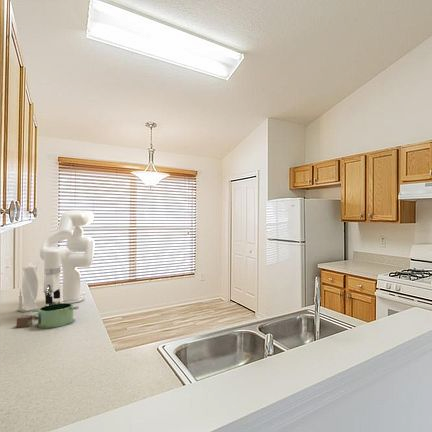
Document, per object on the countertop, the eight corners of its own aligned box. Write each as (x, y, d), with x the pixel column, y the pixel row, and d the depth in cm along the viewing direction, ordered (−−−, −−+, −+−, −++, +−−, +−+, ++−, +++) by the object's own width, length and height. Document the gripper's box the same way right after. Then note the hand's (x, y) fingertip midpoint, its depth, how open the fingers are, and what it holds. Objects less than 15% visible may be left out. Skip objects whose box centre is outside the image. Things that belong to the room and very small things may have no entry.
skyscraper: (34, 306, 195) (34, 261, 195) (41, 308, 191) (41, 262, 191) (17, 310, 187) (18, 263, 187) (24, 312, 183) (24, 264, 183)
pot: (40, 320, 170) (40, 304, 170) (82, 317, 175) (82, 301, 175) (25, 329, 156) (25, 312, 156) (72, 326, 161) (72, 309, 161)
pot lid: (42, 311, 185) (42, 300, 185) (73, 309, 189) (73, 298, 189) (28, 320, 170) (28, 307, 170) (62, 317, 174) (62, 305, 174)
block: (21, 324, 163) (21, 315, 163) (32, 323, 165) (32, 314, 165) (16, 327, 159) (16, 318, 159) (27, 326, 160) (27, 317, 160)
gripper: (51, 268, 187) (52, 297, 188) (37, 274, 171) (37, 306, 171) (66, 267, 189) (66, 296, 190) (53, 274, 173) (53, 305, 173)
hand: (53, 301), depth 181 cm, fingers open, 9 cm apart
